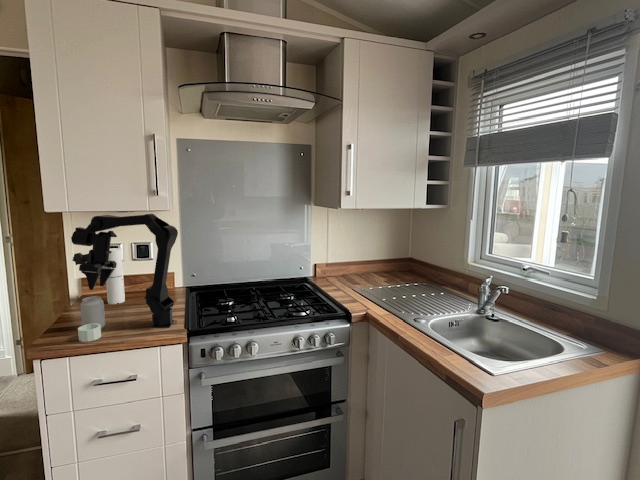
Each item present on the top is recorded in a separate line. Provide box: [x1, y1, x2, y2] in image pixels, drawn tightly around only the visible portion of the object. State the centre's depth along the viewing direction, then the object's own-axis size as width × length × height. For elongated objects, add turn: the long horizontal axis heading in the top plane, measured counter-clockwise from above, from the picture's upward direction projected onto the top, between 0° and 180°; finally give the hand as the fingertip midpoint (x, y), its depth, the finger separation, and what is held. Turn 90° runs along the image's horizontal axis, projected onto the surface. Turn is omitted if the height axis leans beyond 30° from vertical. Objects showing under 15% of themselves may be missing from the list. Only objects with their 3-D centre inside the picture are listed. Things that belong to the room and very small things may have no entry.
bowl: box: [77, 323, 102, 343], centre depth 130 cm, size 7×7×4 cm
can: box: [79, 295, 106, 330], centre depth 138 cm, size 8×8×12 cm
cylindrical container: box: [105, 247, 126, 305], centre depth 169 cm, size 7×7×25 cm
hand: (96, 287), depth 140 cm, fingers open, 9 cm apart
